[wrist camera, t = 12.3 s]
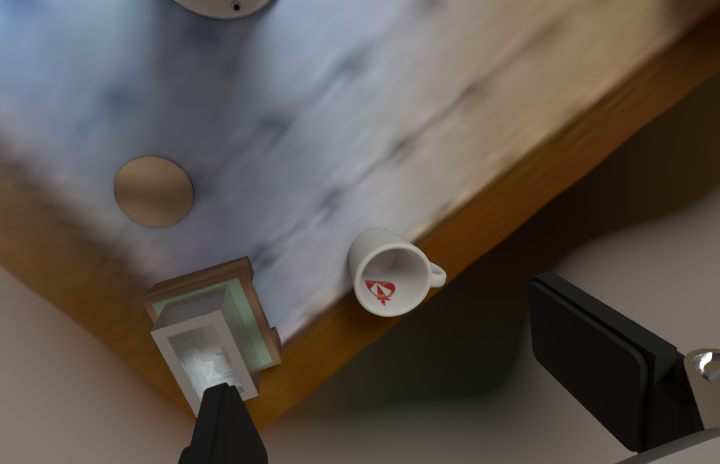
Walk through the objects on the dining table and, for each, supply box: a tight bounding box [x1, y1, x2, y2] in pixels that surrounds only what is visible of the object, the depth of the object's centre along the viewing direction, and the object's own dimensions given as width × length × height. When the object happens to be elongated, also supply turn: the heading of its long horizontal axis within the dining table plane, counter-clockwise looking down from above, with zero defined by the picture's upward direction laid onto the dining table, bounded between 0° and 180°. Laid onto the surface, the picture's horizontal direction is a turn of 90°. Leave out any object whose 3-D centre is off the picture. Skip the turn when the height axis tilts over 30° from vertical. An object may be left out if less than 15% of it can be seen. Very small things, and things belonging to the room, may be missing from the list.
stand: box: [142, 256, 282, 370], centre depth 40 cm, size 12×10×4 cm
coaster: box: [114, 156, 194, 227], centre depth 36 cm, size 7×7×1 cm
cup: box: [349, 228, 446, 317], centre depth 40 cm, size 11×8×8 cm
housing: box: [150, 284, 261, 417], centre depth 36 cm, size 10×6×5 cm, turn 14°
